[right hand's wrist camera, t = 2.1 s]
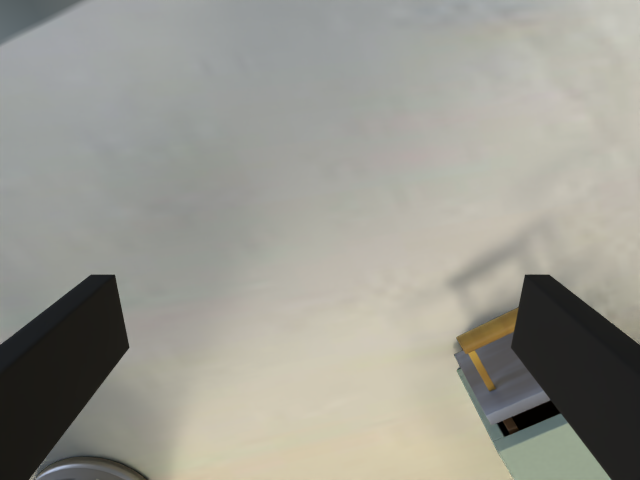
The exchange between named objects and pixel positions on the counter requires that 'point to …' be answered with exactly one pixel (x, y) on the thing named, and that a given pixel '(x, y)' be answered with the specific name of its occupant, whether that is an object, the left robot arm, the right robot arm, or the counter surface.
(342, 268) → the counter surface
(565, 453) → the cabinet
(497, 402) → the drawer
